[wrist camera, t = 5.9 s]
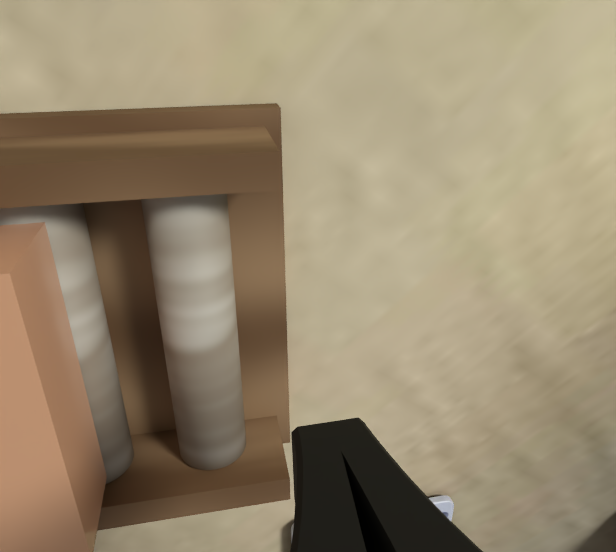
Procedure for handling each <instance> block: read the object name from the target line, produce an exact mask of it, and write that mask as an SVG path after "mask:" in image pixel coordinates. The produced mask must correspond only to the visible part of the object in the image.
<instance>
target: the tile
mask: <svg viewBox="0 0 616 552" xmlns="http://www.w3.org/2000/svg"><path fill="white" fill-rule="evenodd" d="M106 479H107V475H106V471H105V467H104V463H103V459H102V455H101V450H100V446H99V442H98V438H97V434H96V430H95V426H94V422H93V418H92V413H91V409H90V405H89V401H88V397H87V393H86V389H85V385H84V381H83V377H82V372H81V368H80V364H79V360H78V356H77V352H76V348H75V344H74V340H73V335H72V331H71V327H70V323H69V319H68V315H67V311H66V307H65V303H64V299H63V294H62V290H61V286H60V282H59V278H58V274H57V270H56V266H55V262H54V258H53V253H52V249H51V245H50V241H49V237H48V233H47V229H46V225H45V222H40V223H28V224H11V225H0V552H93V550H94V544H95V539H96V533H97V528H98V522H99V517H100V511H101V506H102V500H103V495H104V490H105V484H106Z"/></svg>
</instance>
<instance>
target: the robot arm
mask: <svg viewBox="0 0 616 552" xmlns="http://www.w3.org/2000/svg"><path fill="white" fill-rule="evenodd" d="M292 452H293V474H294V497H295V517H294V523H293V525H292V526H291V550H290V552H483V551H482V550H480V549H479V548H478V547H477V546H476V545H475V544H474V543H473V542H472V541H471V540H470V539H469V538H468V537H467V536H466V535H465V534H464V533H462V532H461V531H460V530H459V529H458V528H457V527H456V526H455V525H454V524H453V523H452V522H451V520H452V514H453V508H454V503H453V502H452V500H451V498H450V497H449V496H446V495H444V496H437V497H431V498H428V497H427V496H426V495H425V494H424V493H423V492H422V491H421V490H420V489H419V487H418V486H417V485H416V484H415V483H414V482H413V481H412V480H411V479H410V478H409V477H408V475H407V474H406V473H405V472H404V471H403V470H402V469H401V467H400V466H399V465H398V464H397V463H396V462H395V460H394V459H393V458H392V457H391V456H390V455H389V453H388V452H387V451H386V450H385V449H384V447H383V446H382V445H381V444H380V442H379V441H378V440H377V439H376V437H375V436H374V435H373V434H372V432H371V431H370V430H369V428H368V427H367V426H366V424H365V423H364V422H363V421H362V420H361V419H359V418H353V419H346V420H340V421H333V422H327V423H320V424H313V425H307V426H300V427H297V428H296V429H295V430H294V431H293V432H292Z"/></svg>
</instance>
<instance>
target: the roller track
mask: <svg viewBox="0 0 616 552" xmlns="http://www.w3.org/2000/svg"><path fill="white" fill-rule="evenodd" d="M40 222H45V225H46V229H47V233H48V237H49V241H50V245H51V249H52V253H53V258H54V262H55V266H56V270H57V274H58V278H59V282H60V286H61V290H62V294H63V299H64V303H65V307H66V311H67V315H68V319H69V323H70V327H71V331H72V335H73V340H74V344H75V348H76V352H77V356H78V360H79V364H80V368H81V372H82V377H83V381H84V385H85V389H86V393H87V397H88V401H89V405H90V409H91V413H92V418H93V422H94V426H95V430H96V434H97V438H98V442H99V446H100V450H101V455H102V459H103V463H104V467H105V471H106V475H107V479H106V484H105V490H104V495H103V500H102V506H101V511H100V517H99V522H98V528H97V530H103V529H109V528H116V527H122V526H128V525H134V524H140V523H146V522H152V521H159V520H165V519H171V518H177V517H183V516H189V515H195V514H202V513H208V512H214V511H220V510H226V509H232V508H238V507H245V506H251V505H257V504H263V503H269V502H275V501H281V500H288V499H290V478H289V473H288V468H287V464H286V459H285V454H284V449H283V444H282V443H289V442H290V426H289V391H288V356H287V321H286V286H285V250H284V215H283V180H282V145H281V110H280V107H279V106H278V104H250V105H223V106H197V107H170V108H143V109H116V110H90V111H63V112H36V113H10V114H0V225H11V224H28V223H40Z"/></svg>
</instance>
